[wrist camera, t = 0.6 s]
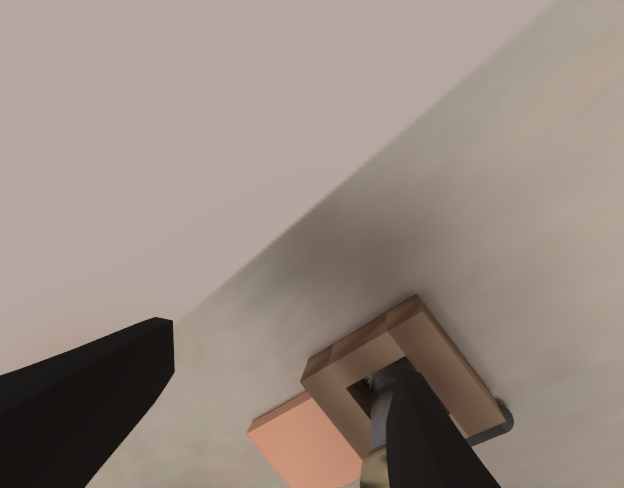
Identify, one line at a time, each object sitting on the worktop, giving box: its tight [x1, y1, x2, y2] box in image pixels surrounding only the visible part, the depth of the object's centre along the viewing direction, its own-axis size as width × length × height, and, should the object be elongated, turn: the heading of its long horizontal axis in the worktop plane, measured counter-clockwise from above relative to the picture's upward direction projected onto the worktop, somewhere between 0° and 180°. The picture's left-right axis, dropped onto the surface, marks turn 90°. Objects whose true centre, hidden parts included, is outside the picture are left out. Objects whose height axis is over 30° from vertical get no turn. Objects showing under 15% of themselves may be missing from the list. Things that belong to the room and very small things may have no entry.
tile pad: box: [247, 391, 363, 488], centre depth 22 cm, size 7×7×1 cm
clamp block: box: [300, 294, 514, 461], centre depth 19 cm, size 10×10×2 cm
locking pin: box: [360, 357, 417, 488], centre depth 17 cm, size 4×4×8 cm
